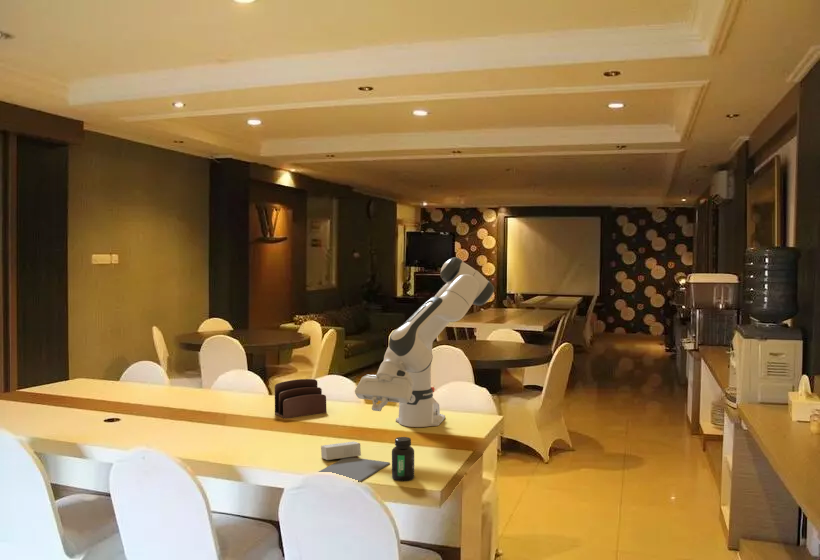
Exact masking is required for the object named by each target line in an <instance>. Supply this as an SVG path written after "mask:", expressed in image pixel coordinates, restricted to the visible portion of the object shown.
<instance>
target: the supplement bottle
mask: <svg viewBox="0 0 820 560" xmlns="http://www.w3.org/2000/svg"><path fill="white" fill-rule="evenodd" d="M391 478H392V480H394V481H397V482H409V481H413V480H414V478H415V449H414V448H413V447H412V439H411V438H410V437H407V436H400V437H399V436H398V437H396V438H395V439H394V447H392V449H391Z"/></svg>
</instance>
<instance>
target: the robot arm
mask: <svg viewBox="0 0 820 560" xmlns="http://www.w3.org/2000/svg"><path fill="white" fill-rule="evenodd" d="M439 273H440V274H439V275H440V278H441V279H442V281H443V282H444V283H445V284H444V285H442V287H440V289H439V290H438V291H437V292H436V294H435V295H434V296H432V297H431V298H429V299H428V300H427V301H425V302H424V303H423V304H422V305H421V306H420V307H419V308H418V309H417V310H416V311H415V312H414V313H413V314H412V315H411V316H410V317H409V318H408V319H407V320H406V321H405V322H403V324H401V325H400V326H398V327H396V329H394V330H393V331H392V333H391V334H390V336H389V340H388V347H387V348H386V351H385V353H384V355H383V361H382V362H381V363H380V365H379V368H378V369H377V372H376V374H366V375H364V376H362V377H361V378H360V381H359V382H358V384H357V385H356V387H355V389H354V394H355V395H356V397H357V399H360V400H369V401H372V406H371V410H372V412H373V411H374V412H382V409H383V408H384V407H385V406H386V405H388V402H389V403H399V405H398V406H399V407H398V417H396V418H395V422H397V423H398V424H399V425H402V426H403V427H410V428H411V427H412V428H414V427H415V428H423V427H424V428H426V427H434V426H435V427H437V426H440V424H441V423H442V422H443V421H444V420H445V419H446V415H445V414H443V413H441V412H440V411H441V410H440V403H439V402H438V401H437V400H436V399H435V398H434V392H435V390H436V388H435V386H432V371H431V370H432V362H433V342H434V341H435V340H436V339H437V338H438V337H439V335H440V334H441V333H442V332H443V330H445V328H446V327H447V326H448V325H449V323H455V322H459V321H461V319H463V318H464V316H465V315H466V314H467V313H468V311H469V310H470V308H471V306H472V305H474V306H483V305H485V304H487V303H489V301H490V300H491V299H492V297H493V295H494V292H495V286H494V285H493V283H492V282H491V281H490V280H488V279H487V278H486V277H485V276H484V275H483V274H482V273H480V272H479V270H477V269H475V268H474V267H472V266H470V265H469V264H467V263H466V262H464V261H463V260H462V259H461V258H459V257H456V256H455V257H451V258H449V259H448V260H446V261H445V262H444V263H443V264H442V267H441V269H440V272H439ZM379 402H380V403H379Z"/></svg>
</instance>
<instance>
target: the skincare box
mask: <svg viewBox="0 0 820 560" xmlns="http://www.w3.org/2000/svg"><path fill="white" fill-rule="evenodd" d="M320 450H321V451H320V452H321V459H324V460H326V461H331V460H338V459H343V458H347V457H354V458H355V457H359V456H362V453H361V451H362V449H361V443H360V442H357V441H348V442H347V441H346V442H340V443H339V442H338V443H331V444H324V445H321V446H320Z"/></svg>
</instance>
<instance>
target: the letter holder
mask: <svg viewBox="0 0 820 560" xmlns="http://www.w3.org/2000/svg"><path fill="white" fill-rule="evenodd" d="M322 390H323V389H322V388H321V387H318V380H317V379H315V378H314V379H313V378H303V379H301V378H299V379H292V380H286V381H283V382H278V383H276V384H275V385H274V415H276V416H278V417H280V418H282V420H283V419H291V418H298V417H305V416H312V415H319V414H326V413H327V396H326V394H322V393H323V391H322Z"/></svg>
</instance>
